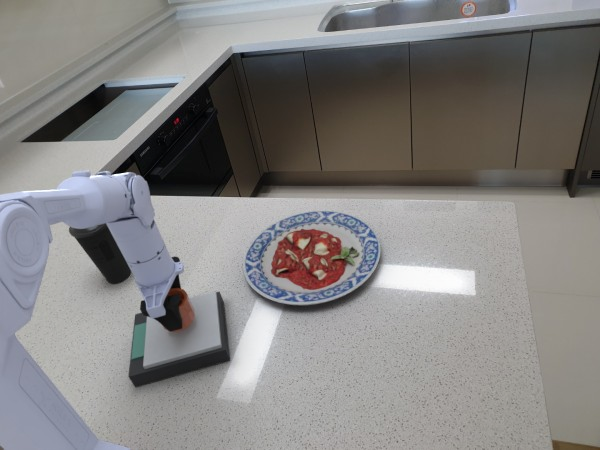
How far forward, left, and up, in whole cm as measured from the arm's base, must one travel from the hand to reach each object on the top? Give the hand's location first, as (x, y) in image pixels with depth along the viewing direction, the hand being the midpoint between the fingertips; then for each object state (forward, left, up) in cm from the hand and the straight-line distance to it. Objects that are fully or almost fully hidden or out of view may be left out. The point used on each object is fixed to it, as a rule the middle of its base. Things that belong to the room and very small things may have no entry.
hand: (176, 314), depth 73 cm
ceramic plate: (+24, +11, -7) cm, 27 cm away
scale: (0, 0, -6) cm, 6 cm away
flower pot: (0, 0, -1) cm, 1 cm away
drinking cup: (-14, +22, -7) cm, 27 cm away
